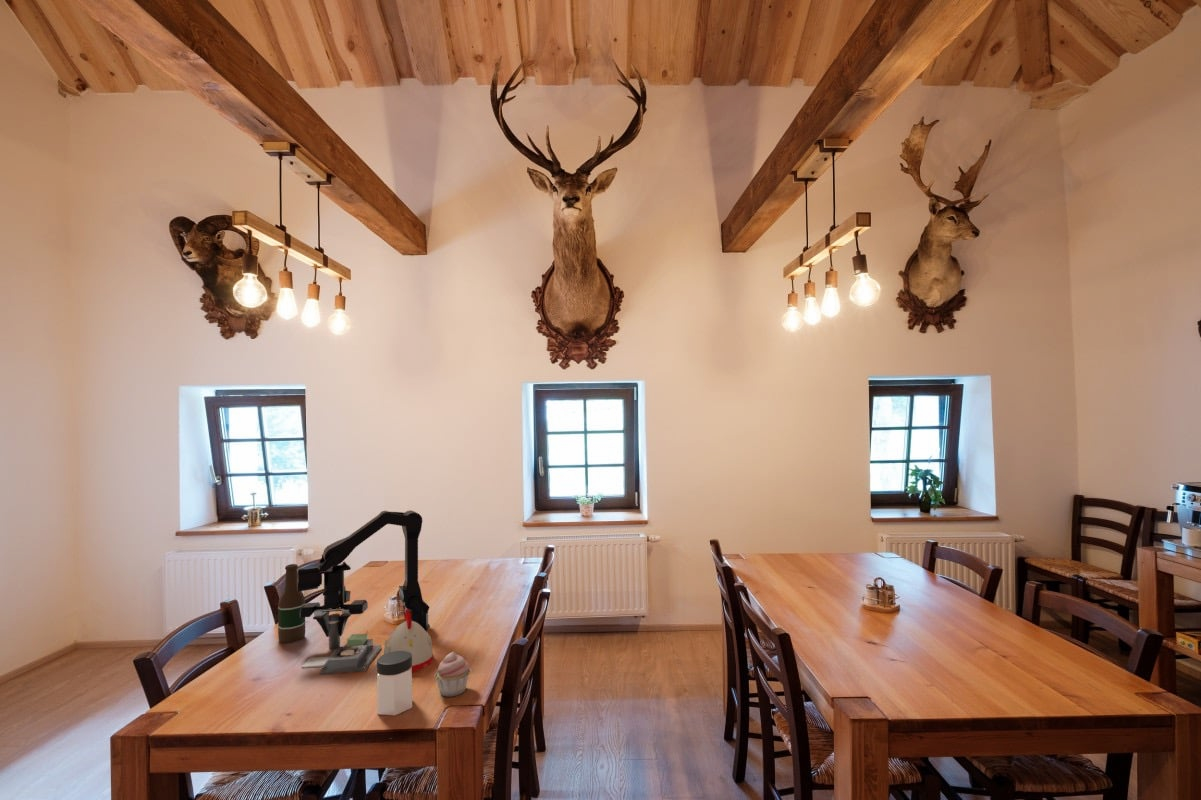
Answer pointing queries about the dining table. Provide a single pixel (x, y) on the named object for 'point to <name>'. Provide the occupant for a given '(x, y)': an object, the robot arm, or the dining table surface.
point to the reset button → (347, 652)
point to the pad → (316, 662)
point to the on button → (357, 640)
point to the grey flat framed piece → (351, 658)
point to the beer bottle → (291, 609)
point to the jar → (394, 683)
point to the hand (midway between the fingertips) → (334, 636)
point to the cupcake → (452, 675)
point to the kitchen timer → (411, 642)
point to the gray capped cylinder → (334, 631)
